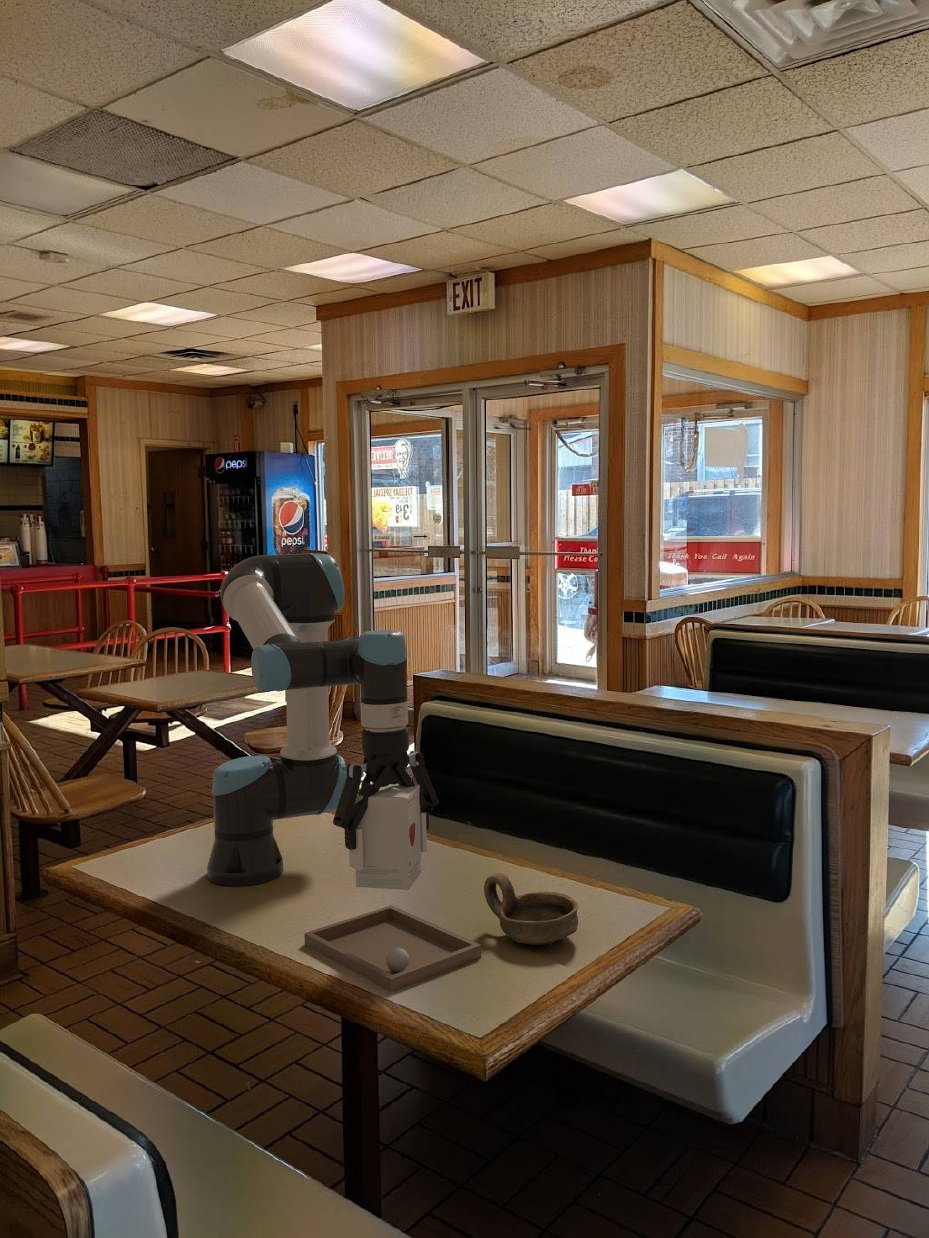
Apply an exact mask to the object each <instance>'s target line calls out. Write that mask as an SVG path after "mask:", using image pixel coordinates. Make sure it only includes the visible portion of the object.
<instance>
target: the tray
mask: <svg viewBox="0 0 929 1238" xmlns="http://www.w3.org/2000/svg"><path fill="white" fill-rule="evenodd" d="M303 933H304V936H303V937H304V946H307V947H309V948H310V949H312V950H314V951H316V952H317V953H320V954H322V955H324V956H325V957H327V958H328V959H330V960H332V961H334V962H336V963H338V964H340V965H342V966H343V967H345V968H347V969H348V970H351V971H352V972H354V973H356V974H358V975H359V976H362V977H363V978H365V979H366V980H369V981H370V982H373V983H374V984H376V985H378V986H380V987H381V988H383V989H385V990H387V991H389V992H390V993H391V992H392V993H393V992H395V991H397V990H400V989H402V988H405V987H409V986H410V985H413V984H416V983H418V982H420V981H423V980H425V979H429V978H430V977H433V976H436V975H439V974H441V973H444V972H446V971H448V970H452V969H454V968H456V967H459V966H461V965H464V964H466V963H469V962H471V961H474V960H476V959H479V958H482V956H483V955H482V944H480V943H477V942H476V941H474V940H471V939H468V938H467V937H464V936H462V935H459V934H457V933H455V932H453V931H451V930H449V929H446V928H444V927H442V926H439V925H437V924H436V923H432V922H430V921H428V920H426V919H423V918H421V917H419V916H416V915H414V914H412V913H411V912H408V911H405V910H404V909H401V908H398V907H397V906H393V905H392V904H391V905H388V906H385V907H382V908H377V909H375V910H372V911H368V912H366V913H363V914H360V915H356V916H353V917H350V918H347V919H344V920H341V921H337V922H334V923H331V924H328V925H326V926H322V927H319V928H316V929H313V930H310V931H306V932H303ZM393 948H402V949H404V950H405V951H406V952H407V953H408V956H409V964H408V966H407V967H406V969H404V970H403V971H401V972H394V971H392V970H390V969H389V968H388V966H387V964H386V956H387V954H388V952H389V951H390V950H392V949H393Z"/></svg>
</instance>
